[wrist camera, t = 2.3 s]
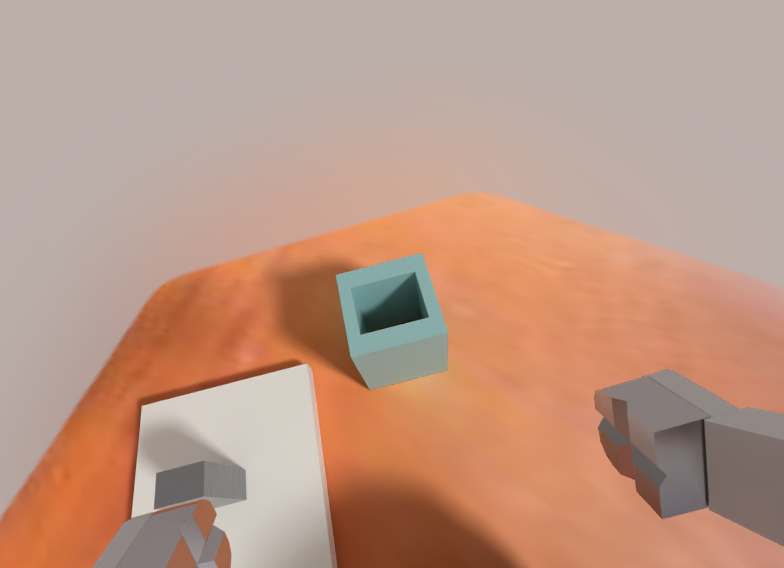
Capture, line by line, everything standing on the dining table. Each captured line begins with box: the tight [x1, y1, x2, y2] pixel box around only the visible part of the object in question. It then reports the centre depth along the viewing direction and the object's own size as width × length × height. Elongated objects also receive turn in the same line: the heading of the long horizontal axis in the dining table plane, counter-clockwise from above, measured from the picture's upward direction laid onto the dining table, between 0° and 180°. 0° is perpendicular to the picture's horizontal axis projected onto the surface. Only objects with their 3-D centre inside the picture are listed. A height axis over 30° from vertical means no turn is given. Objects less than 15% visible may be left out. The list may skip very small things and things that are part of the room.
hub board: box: [132, 364, 338, 568], centre depth 30 cm, size 16×14×2 cm
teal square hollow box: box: [336, 253, 448, 390], centre depth 32 cm, size 7×7×8 cm
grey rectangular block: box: [154, 461, 247, 510], centre depth 27 cm, size 2×3×6 cm, turn 103°
